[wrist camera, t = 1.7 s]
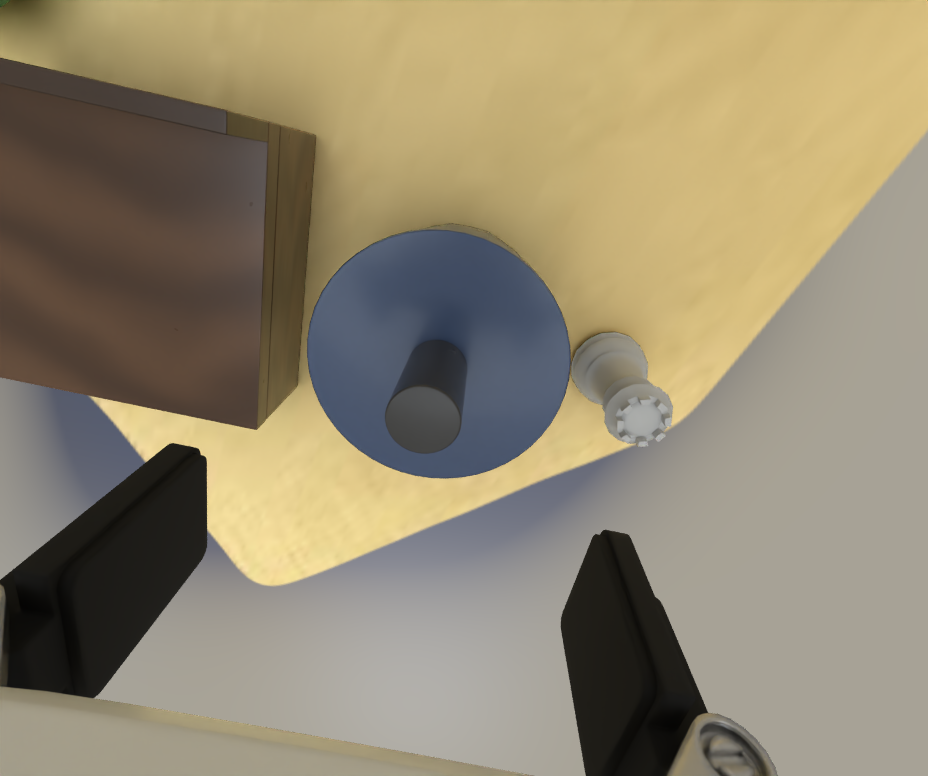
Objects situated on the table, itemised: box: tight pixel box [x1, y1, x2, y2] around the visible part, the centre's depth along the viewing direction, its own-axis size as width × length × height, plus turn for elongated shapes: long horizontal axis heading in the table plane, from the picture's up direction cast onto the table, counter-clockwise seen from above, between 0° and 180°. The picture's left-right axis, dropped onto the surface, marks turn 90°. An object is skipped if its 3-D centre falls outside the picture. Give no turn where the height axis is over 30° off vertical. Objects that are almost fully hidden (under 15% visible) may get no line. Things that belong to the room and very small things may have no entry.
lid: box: [307, 228, 571, 478], centre depth 19 cm, size 11×11×6 cm
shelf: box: [0, 58, 316, 430], centre depth 24 cm, size 15×14×10 cm
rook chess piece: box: [571, 332, 673, 447], centre depth 26 cm, size 4×4×8 cm
